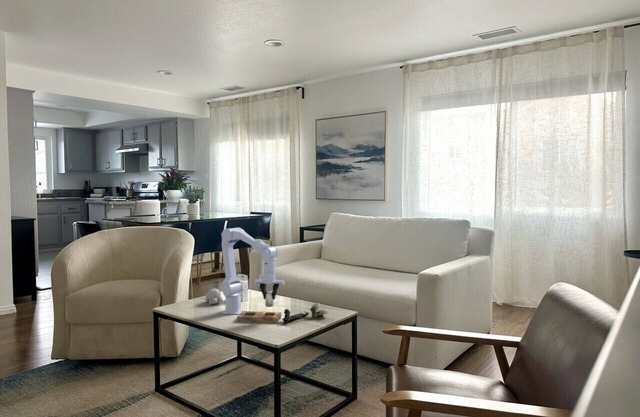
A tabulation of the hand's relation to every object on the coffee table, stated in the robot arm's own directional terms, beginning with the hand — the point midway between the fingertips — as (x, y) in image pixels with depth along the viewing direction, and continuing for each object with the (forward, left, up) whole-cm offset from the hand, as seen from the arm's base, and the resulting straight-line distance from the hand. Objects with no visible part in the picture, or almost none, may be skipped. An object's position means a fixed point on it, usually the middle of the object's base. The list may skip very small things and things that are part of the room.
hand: (269, 299), depth 222 cm
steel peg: (0, 0, -3) cm, 3 cm away
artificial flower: (-4, +17, -11) cm, 21 cm away
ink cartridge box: (-36, -25, -11) cm, 45 cm away
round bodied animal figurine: (-27, -38, -11) cm, 48 cm away
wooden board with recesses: (0, -5, -10) cm, 12 cm away
